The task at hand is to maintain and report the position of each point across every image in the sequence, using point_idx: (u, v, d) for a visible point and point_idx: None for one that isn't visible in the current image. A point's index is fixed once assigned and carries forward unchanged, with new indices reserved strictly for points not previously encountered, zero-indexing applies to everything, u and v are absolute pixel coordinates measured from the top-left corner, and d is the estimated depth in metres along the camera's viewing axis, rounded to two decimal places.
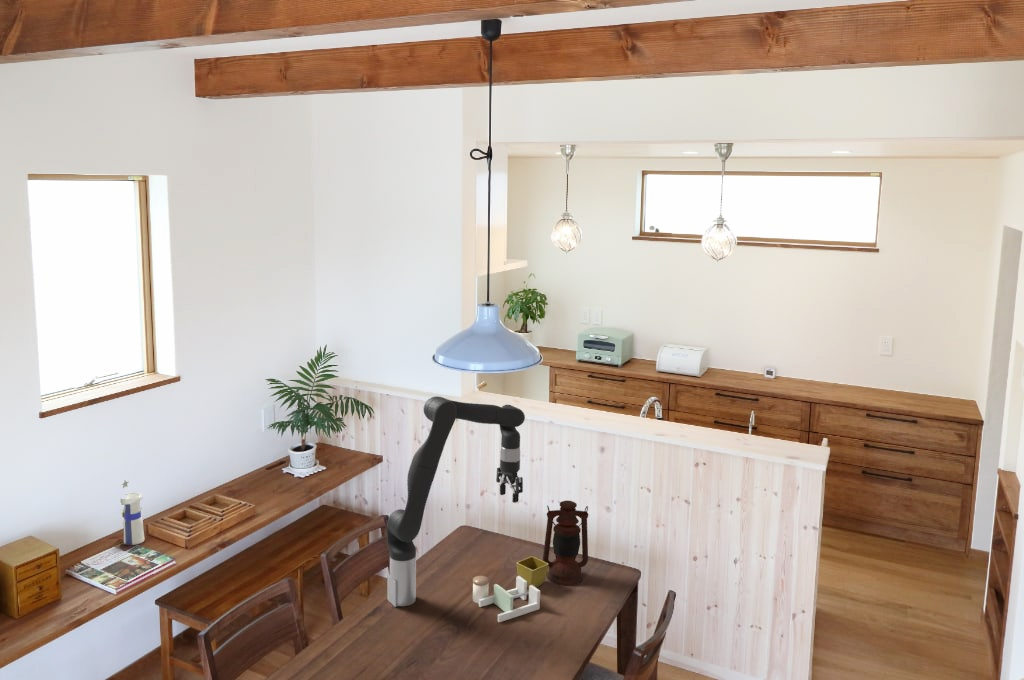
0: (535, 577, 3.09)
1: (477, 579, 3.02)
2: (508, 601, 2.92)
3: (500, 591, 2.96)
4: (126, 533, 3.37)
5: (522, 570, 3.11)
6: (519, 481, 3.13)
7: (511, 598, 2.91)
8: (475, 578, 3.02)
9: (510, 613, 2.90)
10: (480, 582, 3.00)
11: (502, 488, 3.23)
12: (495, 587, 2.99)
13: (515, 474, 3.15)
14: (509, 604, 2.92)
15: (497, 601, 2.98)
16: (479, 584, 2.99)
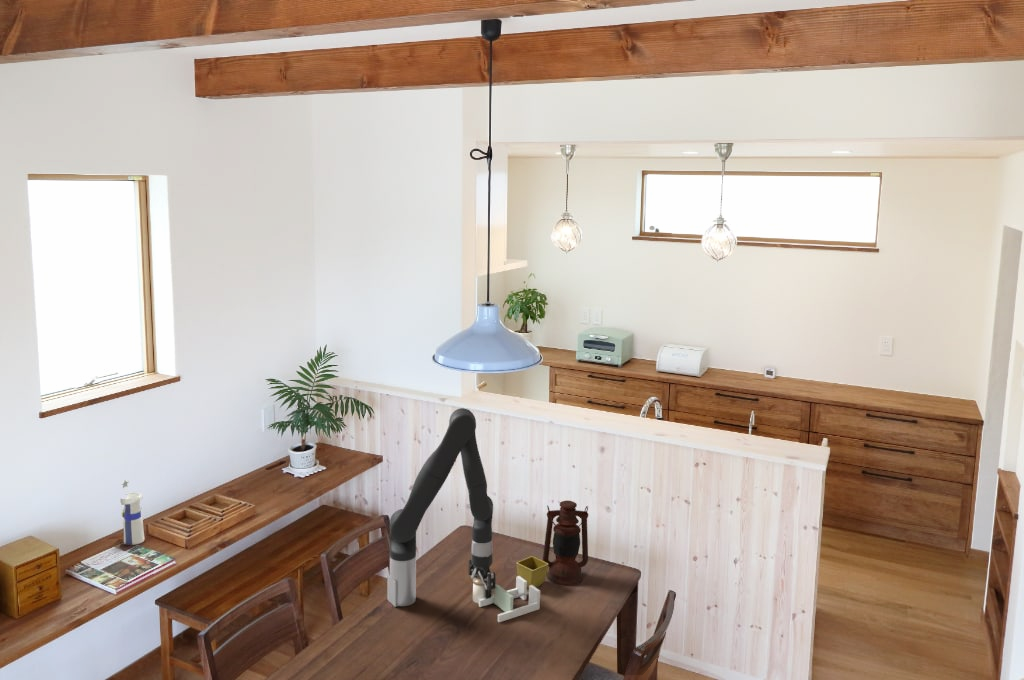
0: (535, 577, 3.09)
1: (477, 579, 3.02)
2: (508, 601, 2.92)
3: (500, 591, 2.96)
4: (126, 533, 3.37)
5: (522, 570, 3.11)
6: (491, 577, 2.95)
7: (511, 598, 2.91)
8: (475, 578, 3.02)
9: (510, 613, 2.90)
10: (480, 582, 3.00)
11: None
12: None
13: (487, 569, 2.98)
14: (509, 604, 2.92)
15: (497, 601, 2.98)
16: (479, 584, 2.99)
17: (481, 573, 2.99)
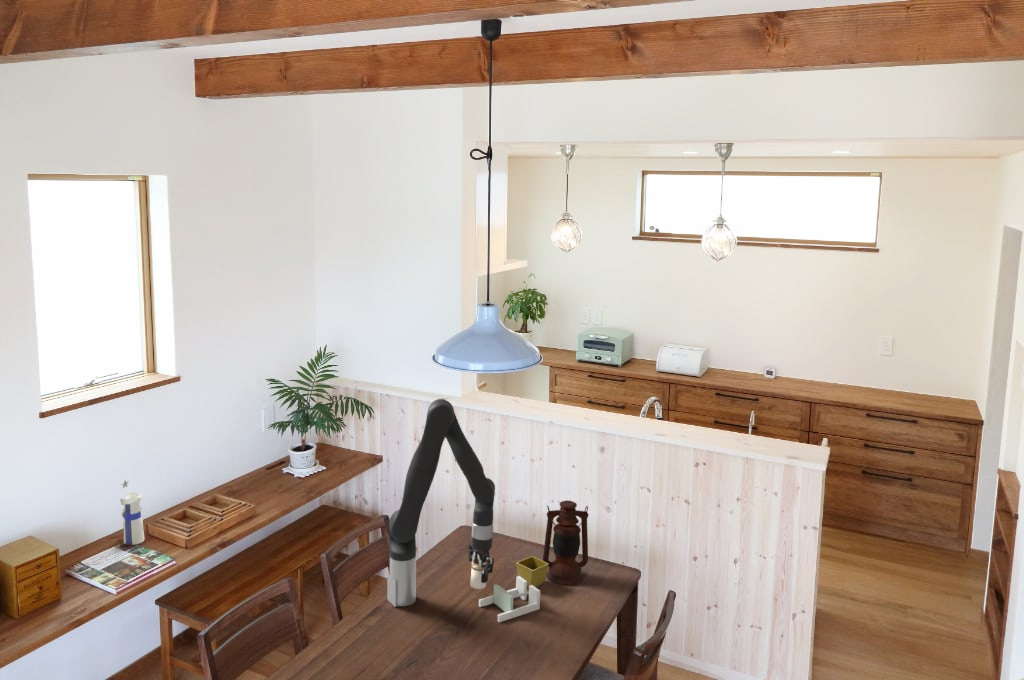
0: (535, 577, 3.09)
1: (476, 564, 3.00)
2: (508, 601, 2.92)
3: (500, 591, 2.96)
4: (126, 533, 3.37)
5: (522, 570, 3.11)
6: (490, 563, 2.94)
7: (511, 598, 2.91)
8: (474, 563, 3.01)
9: (510, 613, 2.90)
10: (479, 567, 2.98)
11: None
12: (495, 587, 2.99)
13: (487, 552, 2.96)
14: (509, 604, 2.92)
15: (497, 601, 2.98)
16: (477, 570, 2.97)
17: (480, 557, 2.97)
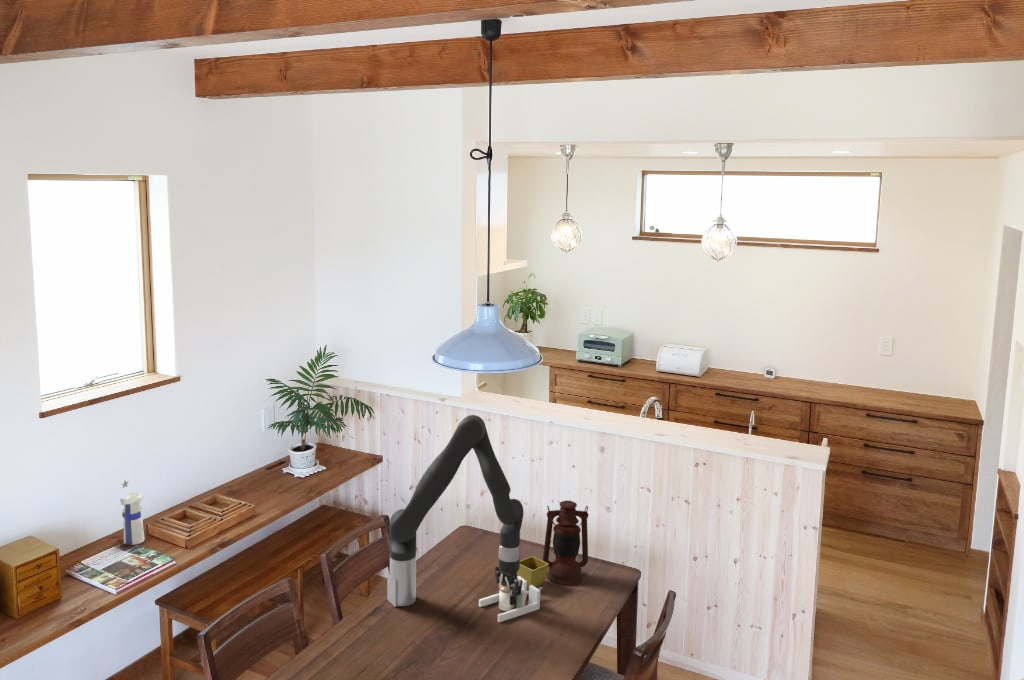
0: (535, 577, 3.09)
1: (504, 586, 2.96)
2: (520, 597, 2.95)
3: None
4: (126, 533, 3.37)
5: (522, 570, 3.11)
6: (518, 585, 2.90)
7: (523, 594, 2.94)
8: (502, 585, 2.97)
9: (510, 613, 2.90)
10: (507, 589, 2.94)
11: None
12: None
13: (514, 574, 2.92)
14: (521, 600, 2.95)
15: None
16: (506, 592, 2.93)
17: (508, 579, 2.93)
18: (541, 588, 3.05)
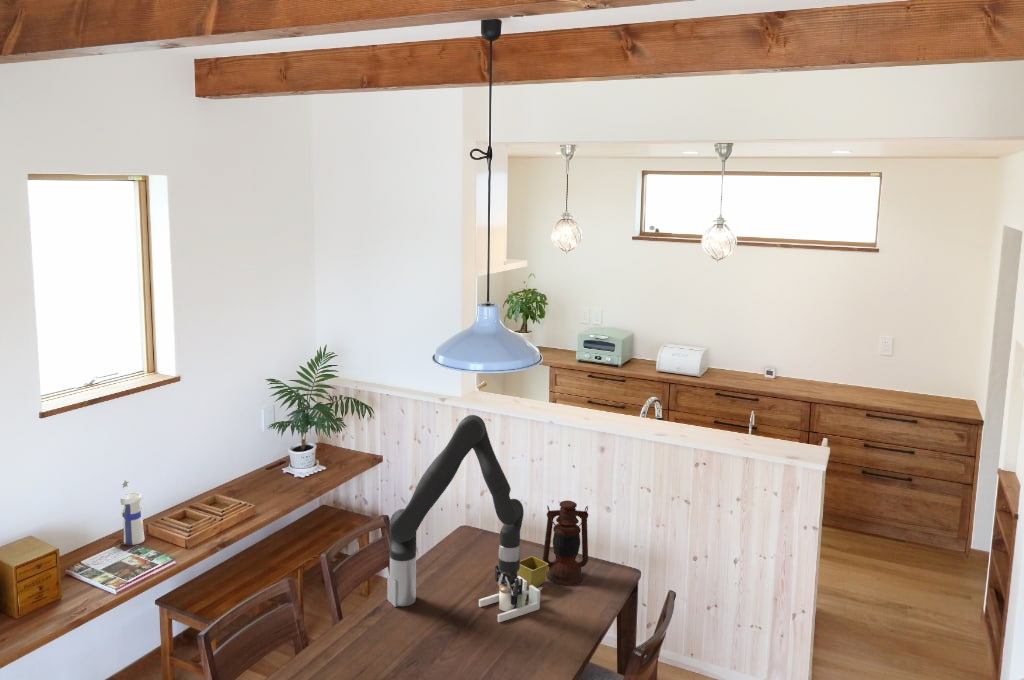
0: (535, 577, 3.09)
1: (504, 586, 2.96)
2: (520, 597, 2.95)
3: None
4: (126, 533, 3.37)
5: (522, 570, 3.11)
6: (519, 584, 2.90)
7: (523, 594, 2.94)
8: (501, 585, 2.97)
9: (510, 613, 2.90)
10: (507, 590, 2.94)
11: None
12: None
13: (515, 574, 2.92)
14: (521, 600, 2.95)
15: None
16: (505, 592, 2.94)
17: (508, 579, 2.93)
18: (541, 588, 3.05)
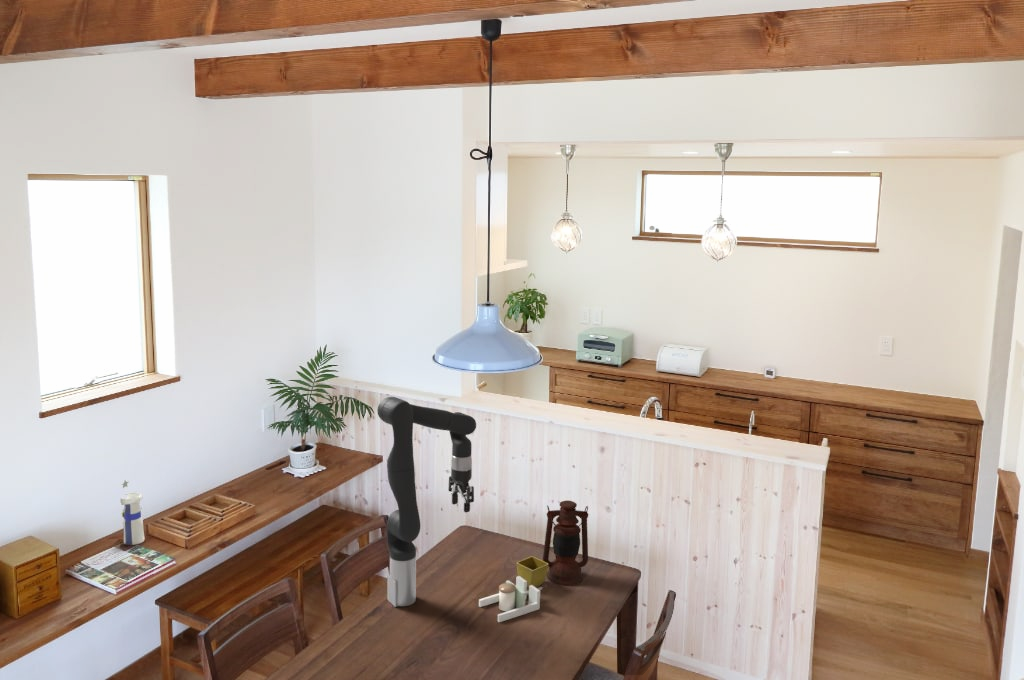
0: (535, 577, 3.09)
1: (504, 586, 2.96)
2: (520, 597, 2.95)
3: None
4: (126, 533, 3.37)
5: (522, 570, 3.11)
6: (470, 490, 3.06)
7: (523, 594, 2.94)
8: (501, 585, 2.97)
9: (510, 613, 2.90)
10: (507, 590, 2.94)
11: (454, 497, 3.15)
12: None
13: (466, 483, 3.08)
14: (521, 600, 2.95)
15: None
16: (505, 592, 2.93)
17: (460, 487, 3.09)
18: (541, 588, 3.05)
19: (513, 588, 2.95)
